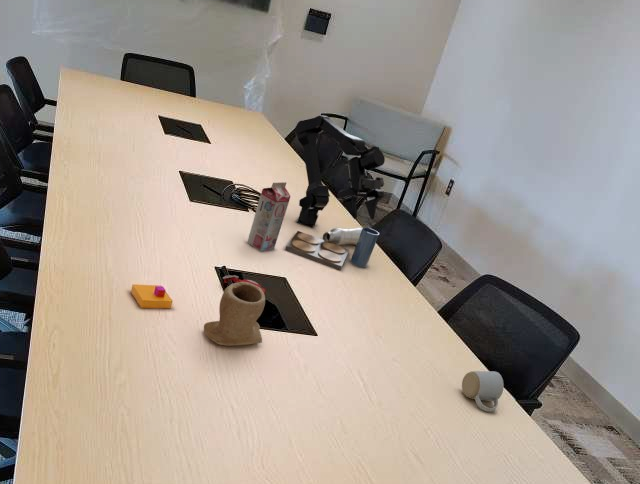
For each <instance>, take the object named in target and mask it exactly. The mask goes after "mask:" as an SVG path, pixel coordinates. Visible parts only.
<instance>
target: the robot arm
mask: <svg viewBox="0 0 640 484" xmlns="http://www.w3.org/2000/svg"><path fill="white" fill-rule="evenodd" d="M294 132H295V136H296V139H297V141H298V142H299V143H300V145H301V147H302V151H303V157H304V162H305V171H306V177H307V183H308V184H307V187H306V191H305V196H303V197H302V198H300V199H299V200H298V201H299V202H298V206H299V207H301V209H300V212H299V215H298V217H297V220H296V223H297V224H300V225H302V226H305V227H308V228H311V229H312V228H313V227H314V226H316V225H317V222H318V219H319V215H320V214H319V212H320V211H321V212H322V211H323V210H324V209H325V207H327V206H328V205H329V202H330V197H331V195H330V192H329V191H330V190H329V189H330V188H329V186H328V185H326V184H324V183H323V181H322V176H321V169H320V162H319V157H318V150H317V142H318V140H319V134H321V133H323V132H324V133H325V134H327V135H328V136H329V137H330V138H331V139H333V140H334V141H335V142H337V143H338V145H339V148H340V150H341V151H342V152H343V153H344V155H346V156H353V157H346V158H345V160H344V161H343V163H342V165H343V166H348V172H349V178H348V179H347V183H348V184H349V183H350V186H351V187H346V188H343V189H340V190H338V191H337V194H336V197H337V200H338V201H340V203H342V204H343V206H344V207H345V208H346V209H347V211H348V212H349V214H350V215H351V217H352V218H353V220H357V219H358V211H357V201H358V199H359V198H364V200H365V201H364V205H365V207H366V210H367V212H368V216H369V218H370V220H374V219H375V215H376V211H377V206H378V204H379V202H380V201H381V200H382V199H383V198H384V197H385V195H384V194H385V193H384V191H383V189H382V188H383V187H384V186H385V181H384V177H382V176H381V177H379V176H377V177H375V179H371V176H370V175H367V171H371V170H372V171H373V170H374V169H377V168H379V167H381V166H383V165H384V164H385V160H386V157H385V156H384V154H383V151H382V150H380V146H379V145H374V146H372V147H371V148H368V146H367V145H366V142H365V140H364V139H362V138H360V137H358V136H355V135H352V134H349V133H348V132H347V131H345V130H344V129H343V128H342V127H341V126H339V125H338V124H337V123H336V122H334V121H333V119H331V118H330V116H327V115H316V116H315V117H311V118H308V119H304V120H302V119H301V120H299V121H298V122H297V124H296V125H295V128H294Z"/></svg>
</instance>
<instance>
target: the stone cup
mask: <svg viewBox="0 0 640 484" xmlns="http://www.w3.org/2000/svg"><path fill="white" fill-rule="evenodd" d="M265 305H266V295H265V293H264V292H263V291H262V290H261V289H260V288H259V287H258V286H256V285H254V284H251V283H248V282H238V283H236V282H234V283H231V284H230V285H229V286H227V287H225V289H224V291H223V293H222V296H221V298H220V301H219V309H218V310H219V312H218V313H219V320H215V321H208V322H206V323H204V324H203V331H204V333H205V335H206V337H208V339H209V340H210V341H212V342H214V343H215V344H217V345H220V346H245V345H255V344H262V343H263V337H262V333H261V326H260V324H259V323H258V322H257V320H258V319H259V318H260V317H261V315H262V314H263V312H264V308H265Z"/></svg>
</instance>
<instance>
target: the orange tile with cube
mask: <svg viewBox="0 0 640 484" xmlns="http://www.w3.org/2000/svg"><path fill="white" fill-rule="evenodd" d="M130 293H131V295H132V296H133V298H134V299H135V301H136V302H137V304H138V305H139V307H140V308H142V309H144V308H145V309H171V308H172V305H173V299H172V298H171V297H170V295H169V293H168V292H167V291H166V289H165V287H164V286H162V285H160V284H159V285H157V284H132V285H131V290H130Z"/></svg>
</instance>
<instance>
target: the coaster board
mask: <svg viewBox="0 0 640 484" xmlns="http://www.w3.org/2000/svg"><path fill="white" fill-rule="evenodd" d="M284 249H285V251H287V252H290V253H292V254H295V255H298V256H300V257H303V258H306V259H309V260H312V261H314V262H317V263H319V264H322V265H325V266H327V267H329V268H333V269H336V270H338V271H341V270H342V267H343V265H344V264H345V261H346V259H347V257H348V255H349V253H350V249H349V248H346V247H344V246H342V245H336V244H333V243H330V242H325V241H324V240H323V238H319V237H316V236H315V235H312V234H309V233H305V232H303V231H300V230H297V231H296V232H295V234H294V235H293V236H292V238H291V239H290V240H289V242H288V243H287V244H286V246H285V248H284Z"/></svg>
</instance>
